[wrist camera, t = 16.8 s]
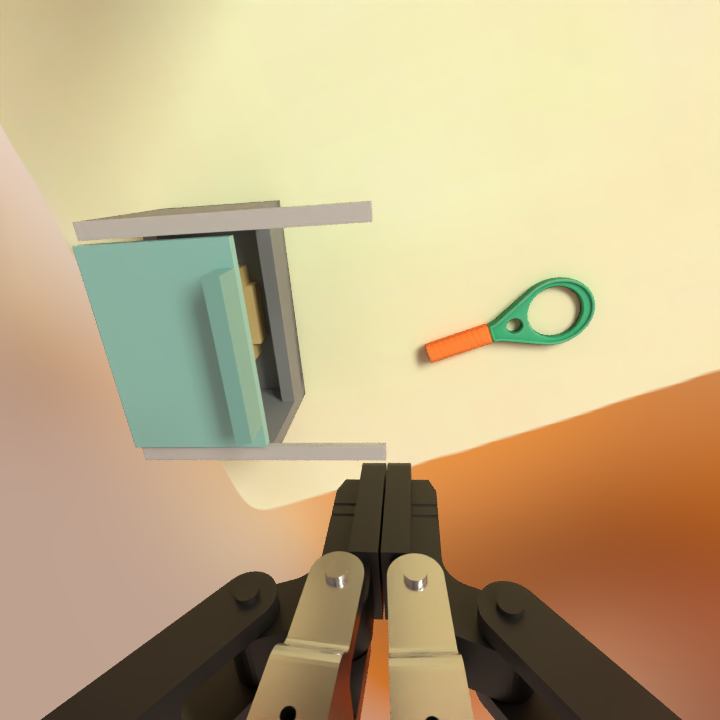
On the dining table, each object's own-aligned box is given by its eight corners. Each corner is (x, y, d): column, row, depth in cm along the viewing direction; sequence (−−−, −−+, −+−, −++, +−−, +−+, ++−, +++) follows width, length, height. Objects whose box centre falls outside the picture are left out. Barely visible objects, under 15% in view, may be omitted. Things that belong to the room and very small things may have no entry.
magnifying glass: (582, 265, 39) (589, 269, 37) (596, 326, 41) (603, 332, 39) (417, 322, 42) (417, 328, 41) (437, 376, 44) (438, 383, 43)
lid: (80, 244, 31) (44, 252, 27) (232, 235, 29) (212, 242, 26) (141, 441, 37) (117, 466, 34) (269, 441, 35) (256, 466, 32)
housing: (158, 209, 40) (68, 222, 30) (381, 192, 38) (370, 201, 27) (202, 395, 47) (142, 459, 37) (391, 392, 45) (386, 460, 34)
